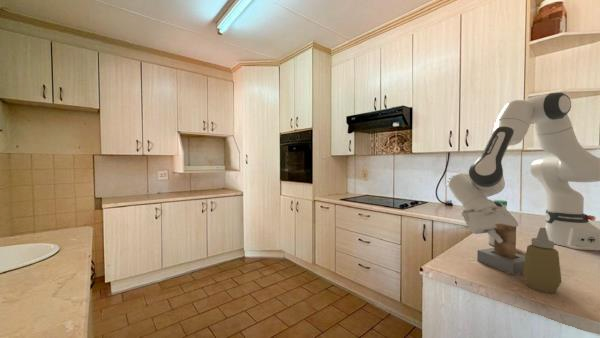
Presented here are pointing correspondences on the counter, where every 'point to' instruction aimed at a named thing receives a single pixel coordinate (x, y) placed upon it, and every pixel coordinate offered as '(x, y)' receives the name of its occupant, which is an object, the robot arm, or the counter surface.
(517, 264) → the grey hollow block
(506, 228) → the wooden block
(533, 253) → the squeeze bottle
